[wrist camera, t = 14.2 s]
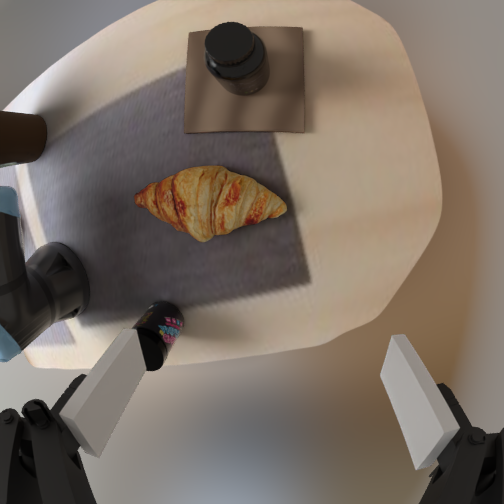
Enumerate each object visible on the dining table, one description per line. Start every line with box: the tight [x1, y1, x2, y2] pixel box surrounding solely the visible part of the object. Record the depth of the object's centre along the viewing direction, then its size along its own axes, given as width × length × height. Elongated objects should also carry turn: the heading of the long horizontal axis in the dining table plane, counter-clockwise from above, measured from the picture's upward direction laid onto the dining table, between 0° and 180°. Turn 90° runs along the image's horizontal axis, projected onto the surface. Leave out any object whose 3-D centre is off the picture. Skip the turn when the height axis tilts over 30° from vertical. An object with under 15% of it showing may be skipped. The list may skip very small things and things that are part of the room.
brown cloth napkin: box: [184, 27, 304, 134], centre depth 33 cm, size 16×16×1 cm
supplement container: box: [132, 302, 184, 371], centre depth 41 cm, size 7×7×10 cm
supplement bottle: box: [204, 22, 270, 96], centre depth 27 cm, size 7×7×12 cm
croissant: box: [134, 166, 287, 242], centre depth 37 cm, size 21×10×8 cm, turn 87°
